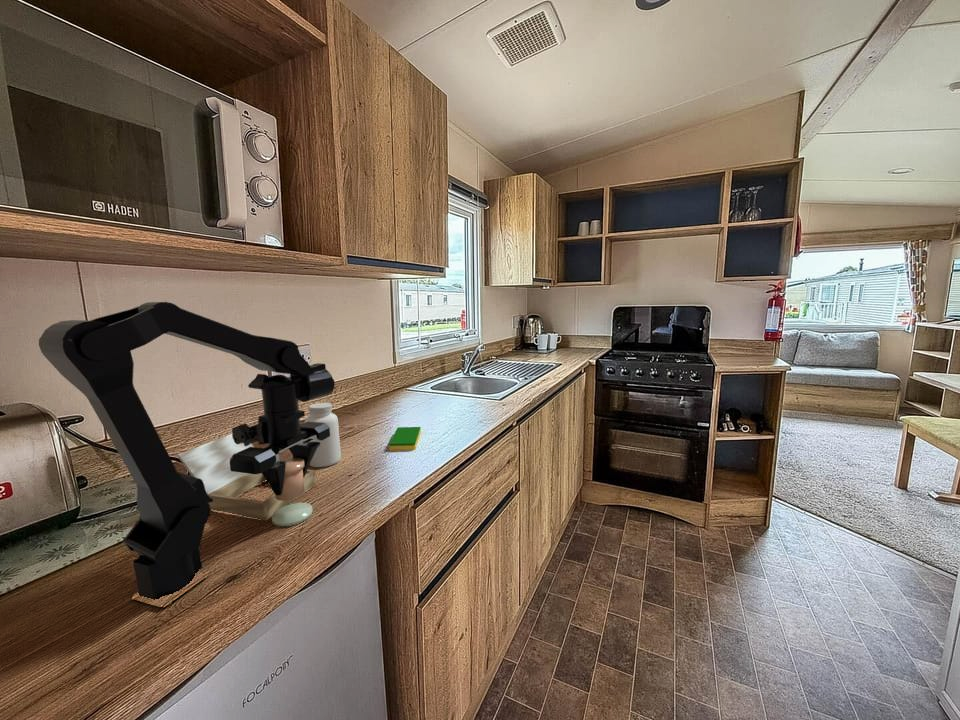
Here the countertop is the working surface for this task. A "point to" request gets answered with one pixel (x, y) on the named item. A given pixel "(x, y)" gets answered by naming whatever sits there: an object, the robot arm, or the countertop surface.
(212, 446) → the cold frame
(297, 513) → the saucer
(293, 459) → the tan knob
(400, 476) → the countertop surface
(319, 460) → the pill bottle
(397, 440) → the dish sponge
